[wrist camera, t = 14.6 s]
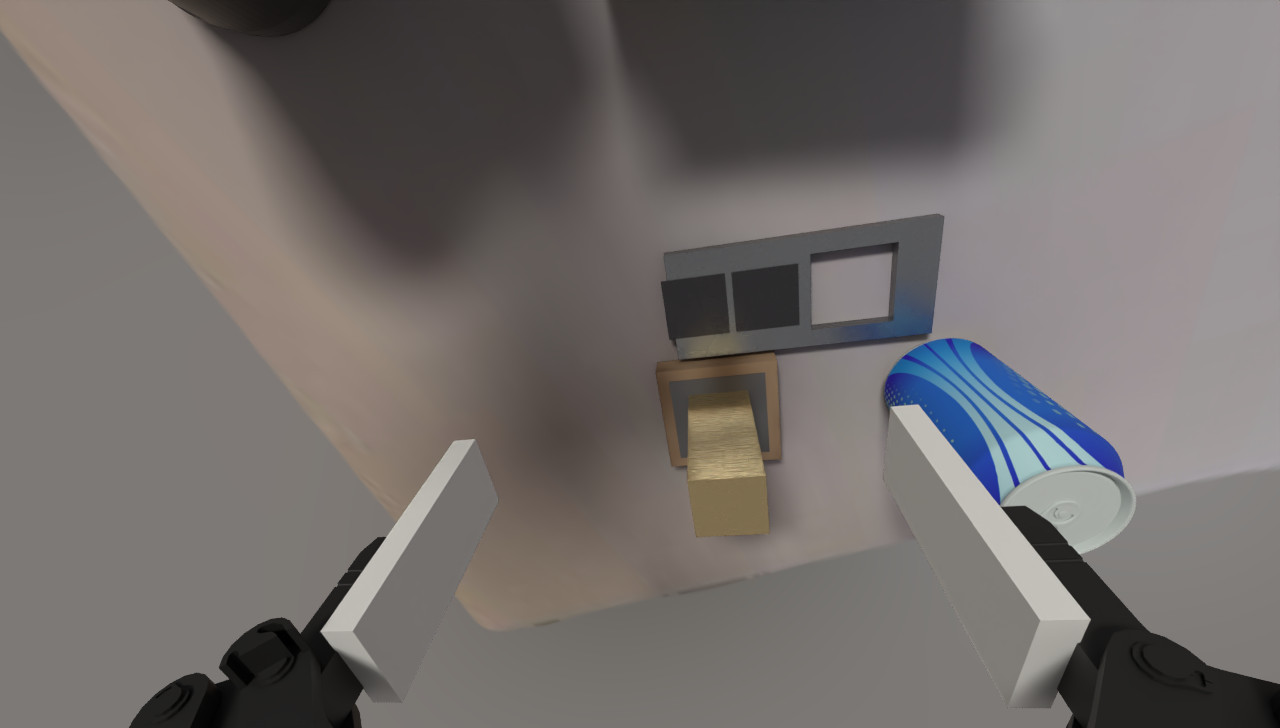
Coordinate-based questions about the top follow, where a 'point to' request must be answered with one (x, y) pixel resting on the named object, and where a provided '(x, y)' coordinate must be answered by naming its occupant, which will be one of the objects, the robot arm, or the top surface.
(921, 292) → the grey slotted plate
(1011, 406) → the beer can
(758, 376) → the pad
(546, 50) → the top surface
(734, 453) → the brass rectangular block
